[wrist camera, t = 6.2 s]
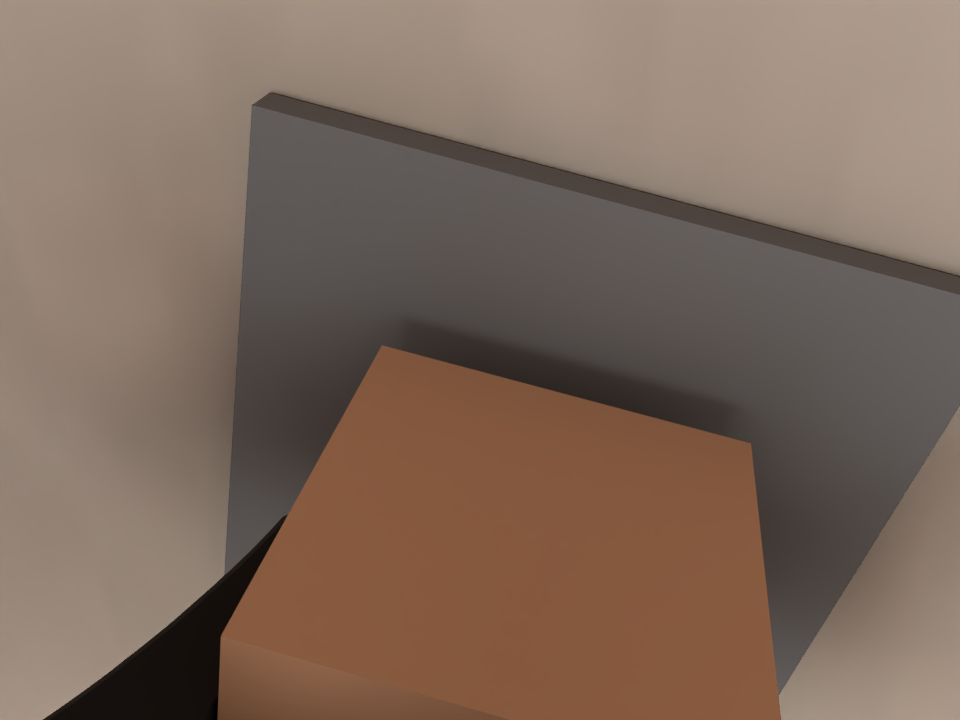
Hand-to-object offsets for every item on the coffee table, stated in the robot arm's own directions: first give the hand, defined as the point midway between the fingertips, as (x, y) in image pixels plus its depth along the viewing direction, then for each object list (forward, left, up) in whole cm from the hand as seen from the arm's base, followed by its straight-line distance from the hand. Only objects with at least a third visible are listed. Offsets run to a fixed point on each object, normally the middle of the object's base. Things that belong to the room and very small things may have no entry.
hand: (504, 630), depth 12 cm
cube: (0, 0, -2) cm, 2 cm away
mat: (0, 0, -3) cm, 3 cm away
